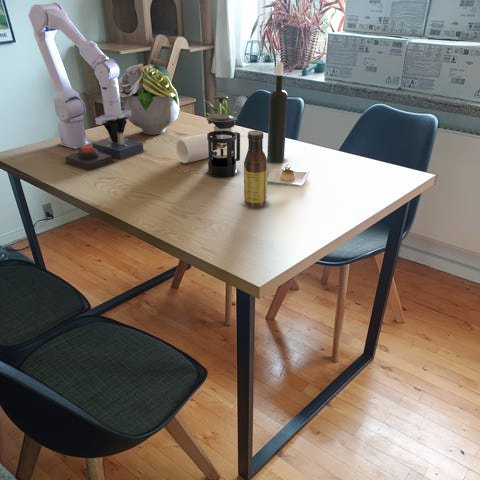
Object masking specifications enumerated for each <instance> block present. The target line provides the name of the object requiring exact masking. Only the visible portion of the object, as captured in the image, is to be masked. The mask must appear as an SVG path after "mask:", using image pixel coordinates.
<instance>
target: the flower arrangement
mask: <svg viewBox="0 0 480 480" xmlns="http://www.w3.org/2000/svg"><path fill="white" fill-rule="evenodd" d="M117 80H118V88H119V95H120V103H121V110H131V116H130V117H129V116H128V117H126V118H127V120H128V122H129V123H131V124H132V125H133V126H135V127H137V128H139V129H140V130H142V133H143V134H145V135H152V136H153V135H160V134H163V133H165V132H166V129H167V128H168V127H170V126H171V125H172V124H174V122H175V121H176V120H177V119H178V117H179V112H180V101H179V95H178V91H177V90H176V87H174V86H173V85H172V83H171V78H170V71H169V70H168V69H166V67H164V66H162V67H161V66H160V65H154V64H150V63H139V64H134V65H132V66H131V65H129V66H128V67H127V69H125V72H124V73H123V74H122V75H121V77H119V78H118V79H117Z"/></svg>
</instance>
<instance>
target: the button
mask: <svg viewBox="0 0 480 480" xmlns="http://www.w3.org/2000/svg"><path fill="white" fill-rule="evenodd" d="M80 149H82V152H83V153H89V152H93V145H92V144H91V145H84V146H82V147H81V148H80Z"/></svg>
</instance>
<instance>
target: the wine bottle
mask: <svg viewBox="0 0 480 480" xmlns="http://www.w3.org/2000/svg"><path fill="white" fill-rule="evenodd" d="M284 65H285V63H284V62H276V67H275V68H276V70H275V89H274V90H272V91H271V92H270V94H269V100H268V101H269V103H268V125H267V133H268V134H267V151H266V152H267V153H266V158H267V162H269V163H273V164H279V163H283V162H285V150H286V149H285V147H286V132H287V131H286V130H287V113H288V96H289V95H288V93H287V92H286V90H284V89H283V78H284V77H283V76H284Z"/></svg>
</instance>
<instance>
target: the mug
mask: <svg viewBox="0 0 480 480" xmlns="http://www.w3.org/2000/svg"><path fill="white" fill-rule="evenodd" d="M207 134H208V133H200V134H195V135H190V136H185V137H181V138H178V139H177V141H176V144H175V150H176V155H177V157H178V159H179V161H180V162H181V163H183V164H190V163H193V162H197V161H202V160H207V159H209V151H208V140H207Z"/></svg>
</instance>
